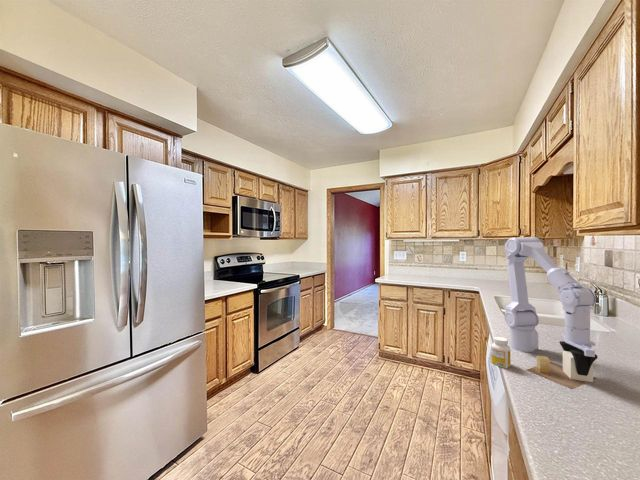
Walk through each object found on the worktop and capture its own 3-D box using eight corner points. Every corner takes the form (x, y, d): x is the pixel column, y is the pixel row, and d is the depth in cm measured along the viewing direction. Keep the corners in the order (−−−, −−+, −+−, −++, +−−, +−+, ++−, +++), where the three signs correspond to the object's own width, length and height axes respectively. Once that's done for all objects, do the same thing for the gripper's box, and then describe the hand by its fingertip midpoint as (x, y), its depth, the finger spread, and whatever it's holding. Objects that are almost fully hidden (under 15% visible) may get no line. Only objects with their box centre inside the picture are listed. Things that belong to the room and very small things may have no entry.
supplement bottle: (502, 362, 94) (502, 335, 94) (514, 370, 89) (514, 341, 89) (488, 363, 94) (487, 335, 94) (498, 371, 89) (498, 342, 89)
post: (536, 368, 88) (536, 355, 88) (546, 370, 87) (546, 356, 87) (540, 372, 85) (539, 358, 85) (550, 374, 84) (550, 360, 84)
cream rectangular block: (562, 370, 86) (562, 350, 86) (583, 373, 84) (583, 352, 84) (570, 378, 81) (570, 357, 81) (593, 382, 79) (593, 360, 79)
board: (550, 364, 93) (550, 361, 93) (597, 381, 82) (597, 378, 82) (525, 372, 87) (525, 369, 87) (571, 392, 76) (571, 388, 76)
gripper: (609, 336, 74) (609, 384, 74) (581, 320, 88) (581, 361, 88) (576, 333, 77) (576, 380, 77) (554, 318, 90) (554, 358, 91)
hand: (577, 370), depth 83 cm, fingers closed on cream rectangular block, 5 cm apart
